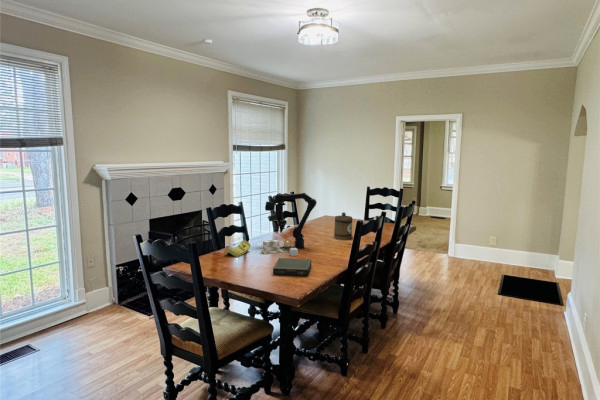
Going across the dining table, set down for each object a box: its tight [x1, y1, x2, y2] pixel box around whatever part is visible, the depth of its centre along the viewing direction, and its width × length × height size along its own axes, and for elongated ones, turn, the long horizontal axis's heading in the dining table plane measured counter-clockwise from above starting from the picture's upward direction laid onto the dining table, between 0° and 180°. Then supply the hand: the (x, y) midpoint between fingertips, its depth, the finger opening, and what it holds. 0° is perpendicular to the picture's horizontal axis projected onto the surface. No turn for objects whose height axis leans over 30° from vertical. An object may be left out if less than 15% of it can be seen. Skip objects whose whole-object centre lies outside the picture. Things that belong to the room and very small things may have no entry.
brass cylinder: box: [283, 239, 291, 249], centre depth 272 cm, size 5×5×6 cm
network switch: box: [272, 257, 312, 277], centre depth 227 cm, size 23×24×5 cm
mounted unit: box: [261, 239, 294, 255], centre depth 269 cm, size 23×8×8 cm, turn 111°
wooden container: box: [333, 211, 353, 241], centre depth 313 cm, size 15×15×22 cm
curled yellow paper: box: [224, 240, 252, 258], centre depth 265 cm, size 20×7×10 cm
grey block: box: [289, 247, 299, 257], centre depth 261 cm, size 4×4×4 cm
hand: (279, 231), depth 282 cm, fingers open, 9 cm apart
